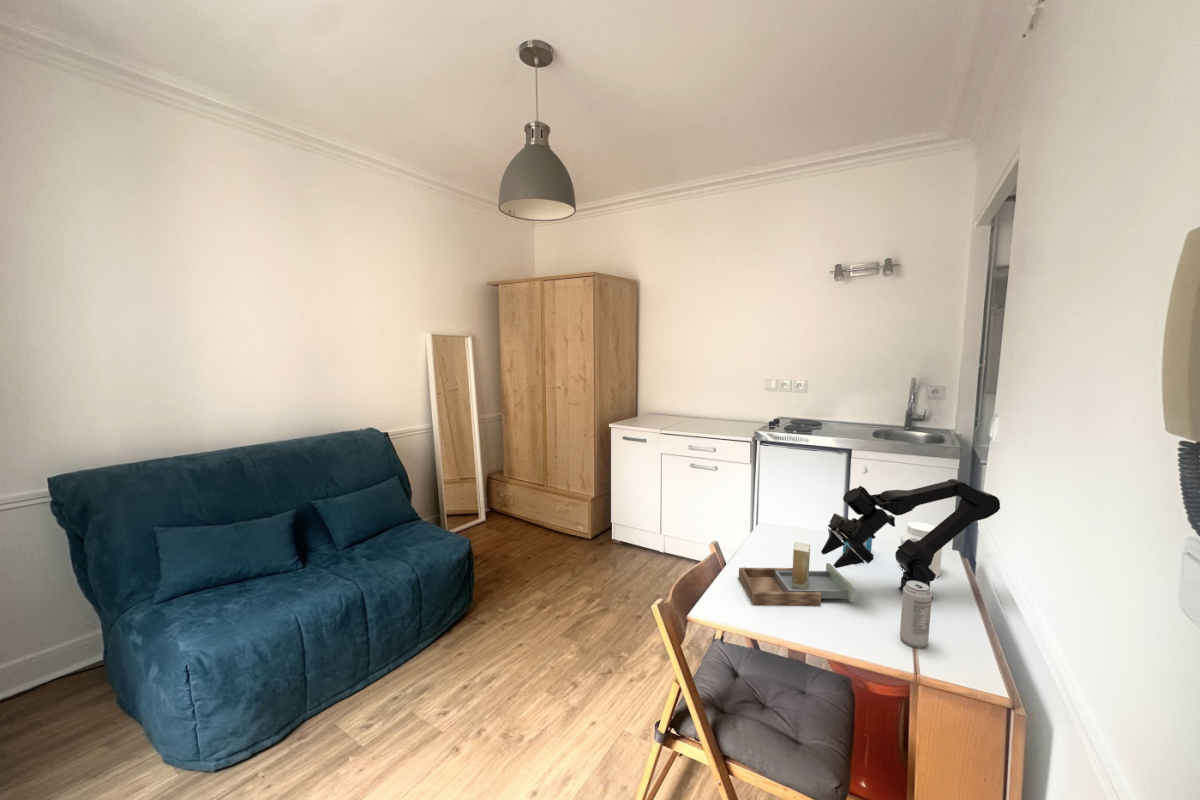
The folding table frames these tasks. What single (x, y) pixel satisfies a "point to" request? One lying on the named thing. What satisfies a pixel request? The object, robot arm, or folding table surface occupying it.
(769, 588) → the caddy
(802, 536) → the folding table surface
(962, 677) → the folding table surface
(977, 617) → the folding table surface
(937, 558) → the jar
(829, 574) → the tray
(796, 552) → the skincare box
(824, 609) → the folding table surface
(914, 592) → the energy drink can
